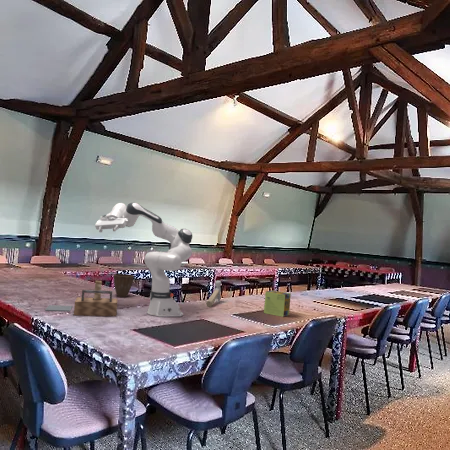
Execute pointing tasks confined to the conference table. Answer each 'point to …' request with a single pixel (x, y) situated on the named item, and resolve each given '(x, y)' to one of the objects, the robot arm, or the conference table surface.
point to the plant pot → (123, 284)
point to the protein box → (277, 303)
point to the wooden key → (97, 287)
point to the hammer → (215, 295)
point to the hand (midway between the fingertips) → (107, 231)
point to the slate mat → (58, 308)
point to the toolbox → (95, 305)
